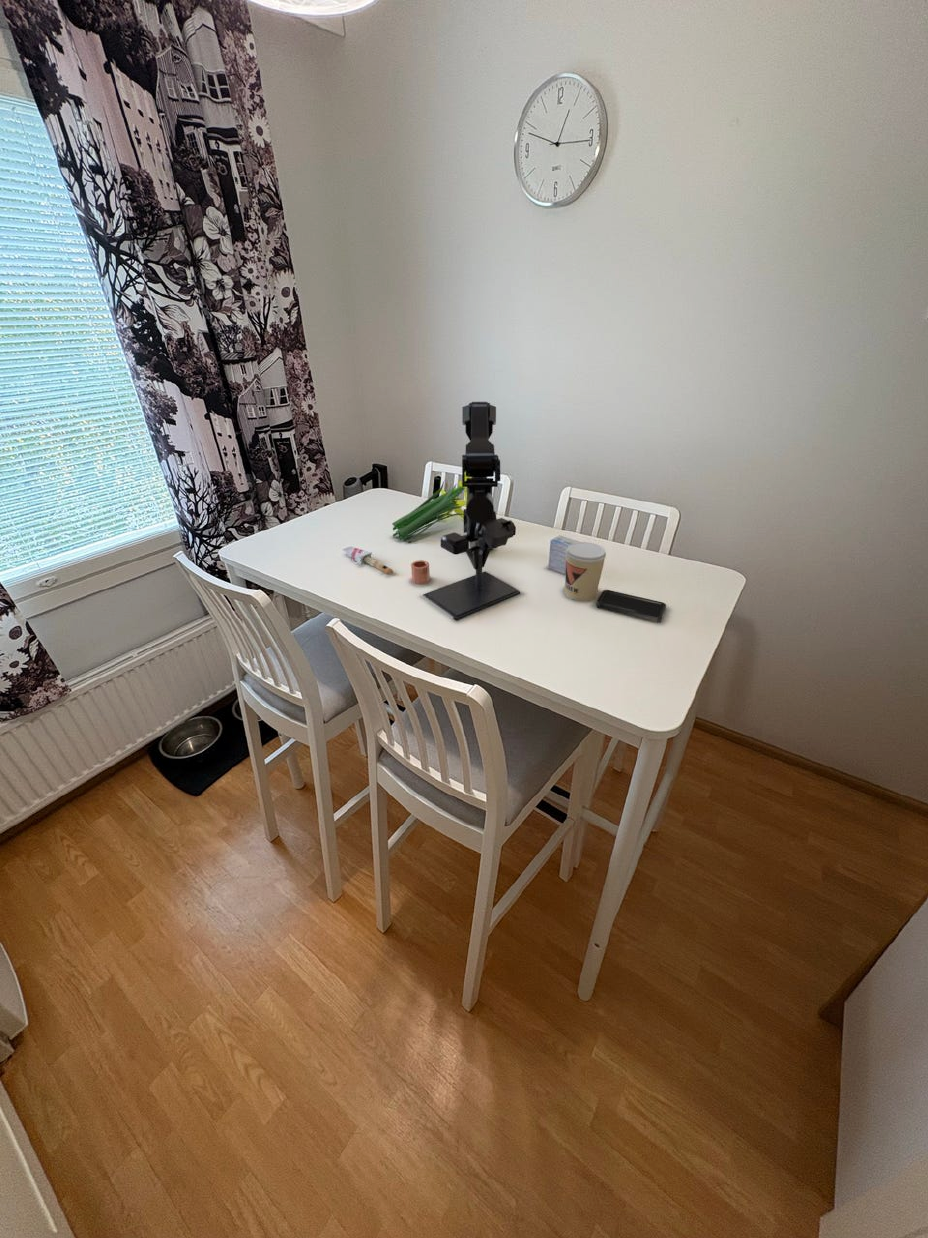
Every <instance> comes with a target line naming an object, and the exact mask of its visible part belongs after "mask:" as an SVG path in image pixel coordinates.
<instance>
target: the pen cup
mask: <svg viewBox="0 0 928 1238" xmlns="http://www.w3.org/2000/svg"><path fill="white" fill-rule="evenodd" d="M410 569H411V581H412V583H414V584H417V585H425V584H427V583H429V582H430V581H431V574H430V563H429V561H427V560H422V559H421V560H415V561H413V562H411V564H410Z"/></svg>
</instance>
